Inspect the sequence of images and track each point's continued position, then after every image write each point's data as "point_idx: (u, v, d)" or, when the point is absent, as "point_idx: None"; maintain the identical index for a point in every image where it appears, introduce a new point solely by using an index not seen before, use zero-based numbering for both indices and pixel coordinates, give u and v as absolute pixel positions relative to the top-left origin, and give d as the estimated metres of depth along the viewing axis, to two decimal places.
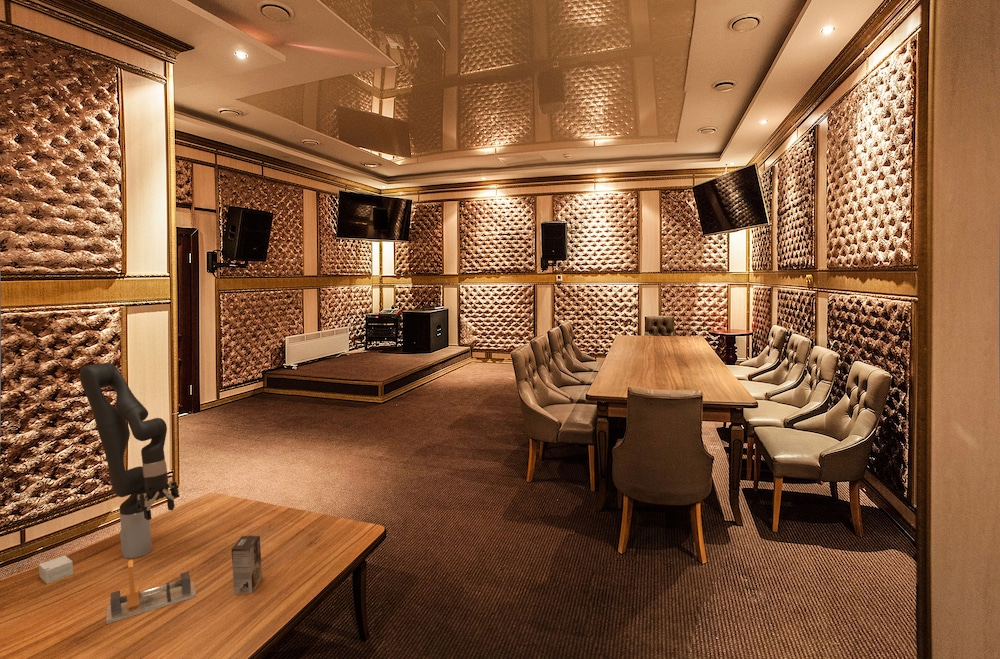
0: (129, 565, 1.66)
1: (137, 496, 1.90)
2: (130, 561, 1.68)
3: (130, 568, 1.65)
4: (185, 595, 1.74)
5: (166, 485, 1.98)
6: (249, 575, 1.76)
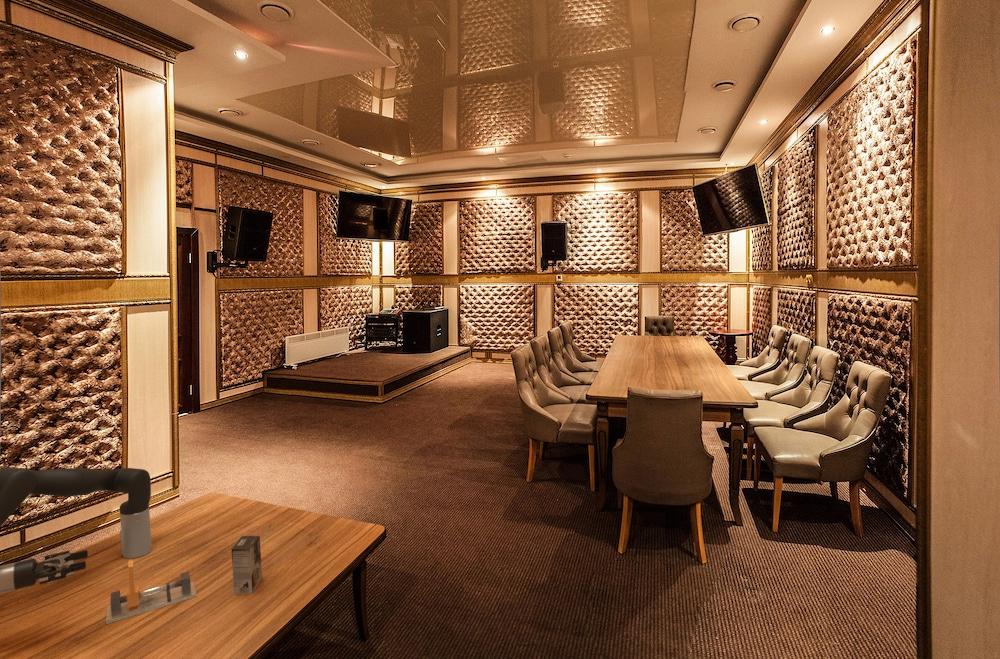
0: (129, 565, 1.66)
1: None
2: (130, 561, 1.68)
3: (130, 568, 1.65)
4: (185, 595, 1.74)
5: None
6: (249, 576, 1.76)
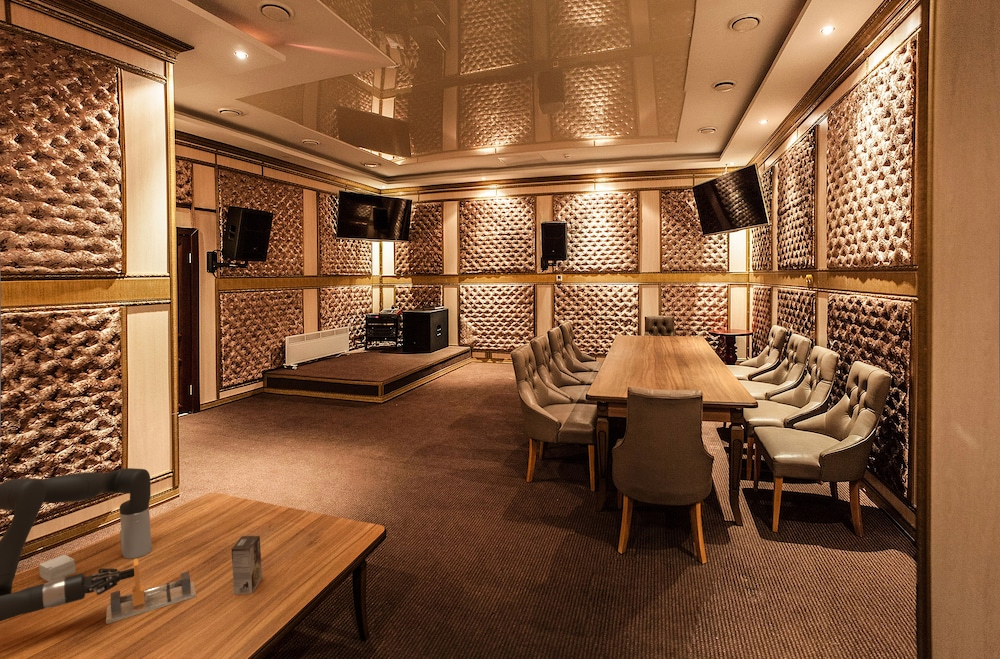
0: (134, 564, 1.67)
1: None
2: (136, 560, 1.69)
3: (135, 567, 1.66)
4: (185, 595, 1.74)
5: None
6: (249, 576, 1.76)
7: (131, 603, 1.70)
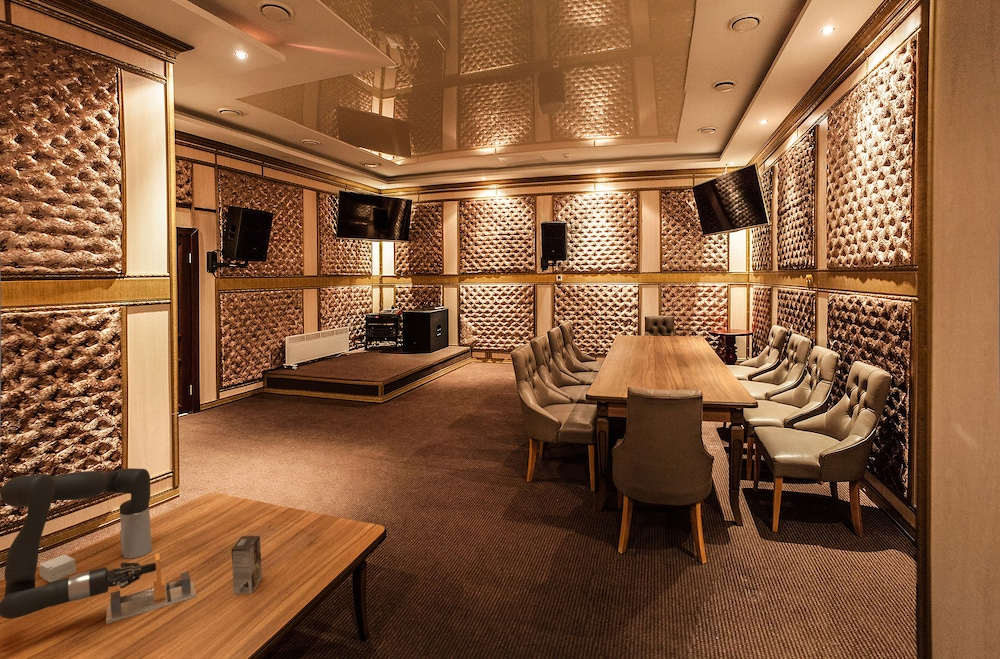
0: (156, 558, 1.70)
1: None
2: (157, 555, 1.72)
3: (157, 561, 1.69)
4: (185, 595, 1.74)
5: None
6: (249, 576, 1.76)
7: (131, 603, 1.70)
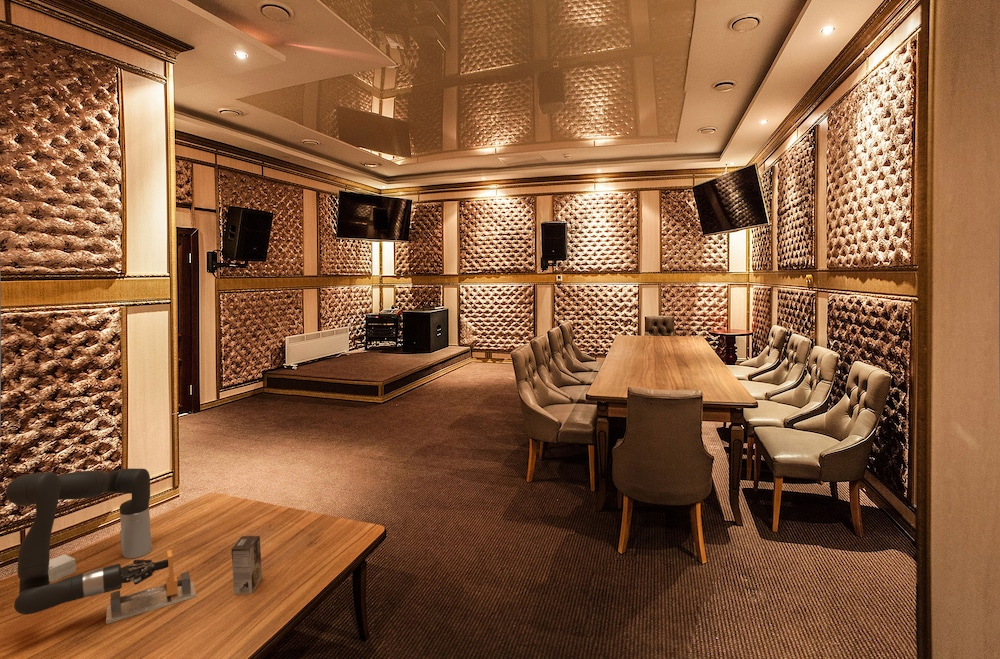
0: (168, 555, 1.72)
1: None
2: (169, 552, 1.74)
3: (170, 558, 1.71)
4: (185, 595, 1.74)
5: None
6: (249, 576, 1.76)
7: (131, 603, 1.70)
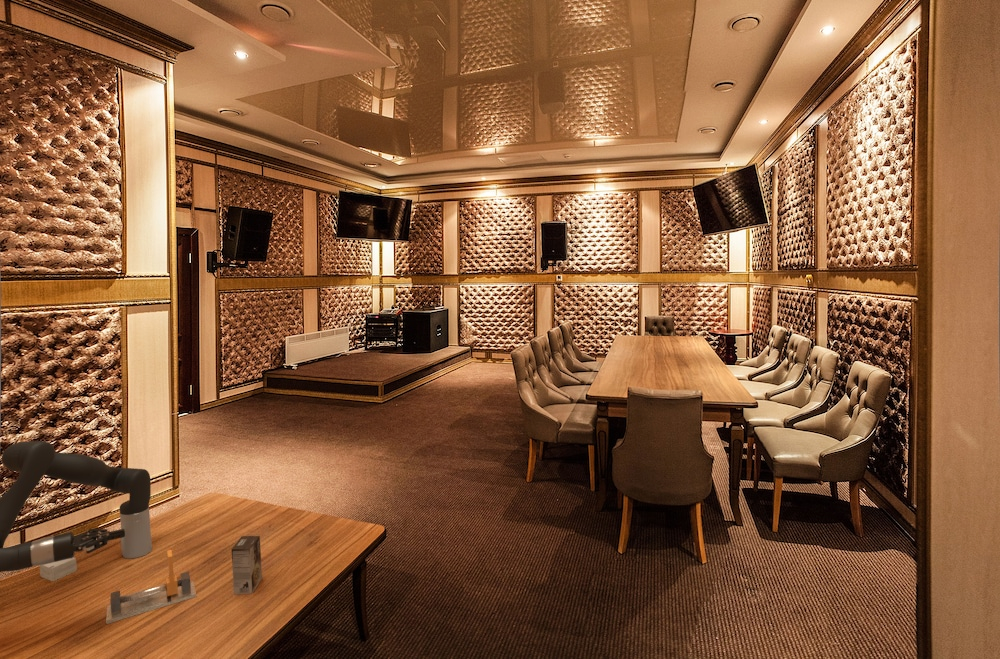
0: (168, 555, 1.72)
1: None
2: (169, 552, 1.74)
3: (170, 558, 1.71)
4: (185, 595, 1.74)
5: None
6: (249, 576, 1.76)
7: (131, 603, 1.70)
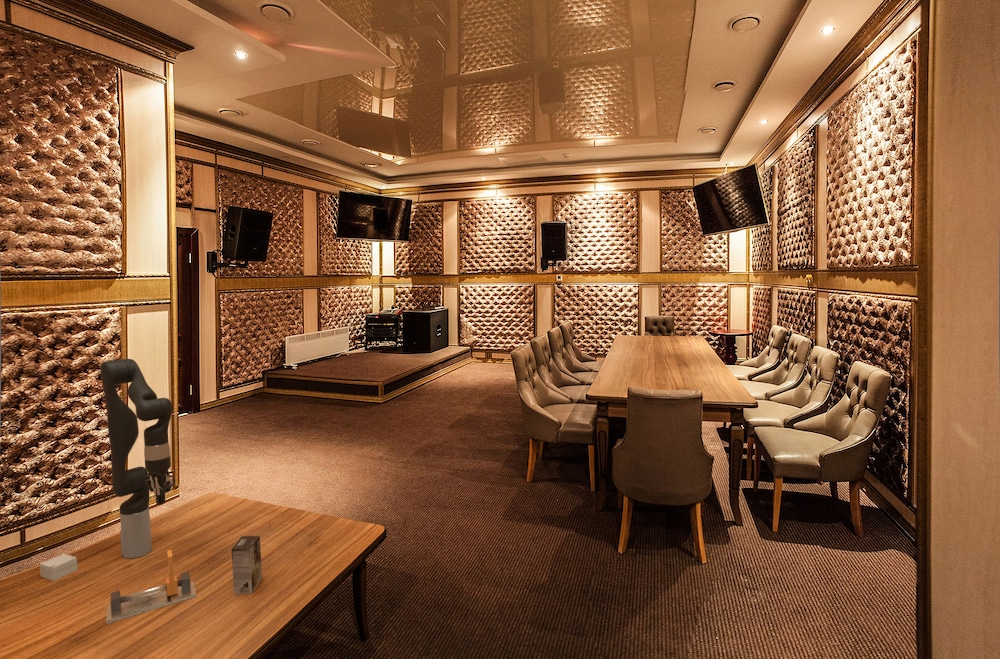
0: (168, 555, 1.72)
1: None
2: (169, 552, 1.74)
3: (170, 558, 1.71)
4: (185, 595, 1.74)
5: (162, 475, 1.80)
6: (249, 576, 1.76)
7: (131, 603, 1.70)
